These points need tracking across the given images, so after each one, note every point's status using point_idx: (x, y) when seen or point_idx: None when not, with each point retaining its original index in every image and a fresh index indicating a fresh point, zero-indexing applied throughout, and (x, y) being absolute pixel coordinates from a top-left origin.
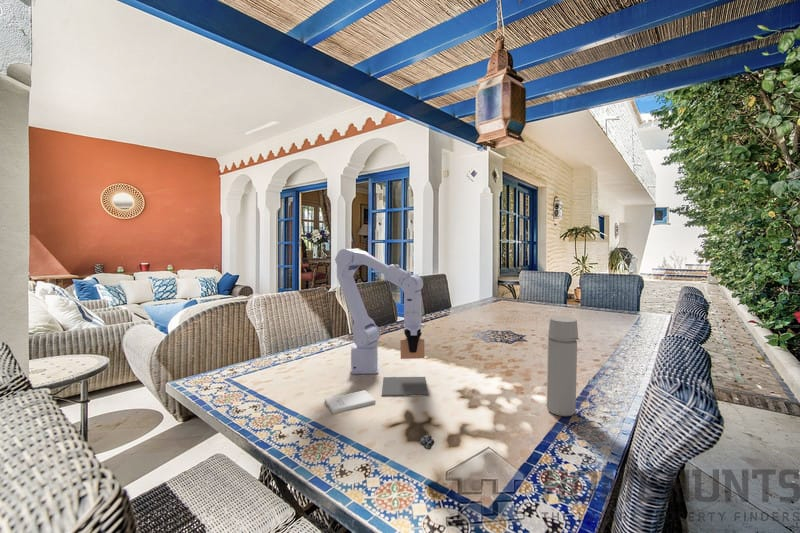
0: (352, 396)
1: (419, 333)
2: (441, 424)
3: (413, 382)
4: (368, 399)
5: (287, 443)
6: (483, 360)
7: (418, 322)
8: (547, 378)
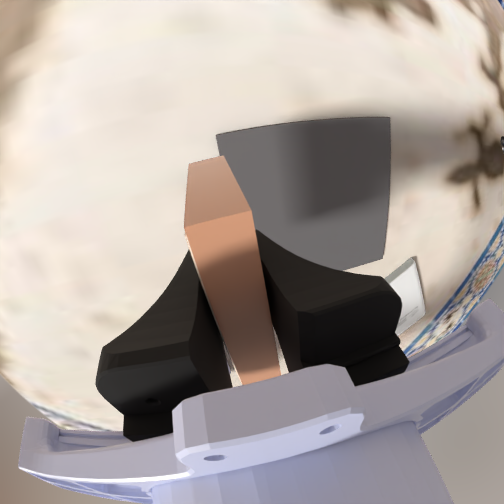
0: None
1: (395, 310)
2: (485, 110)
3: (292, 178)
4: (410, 277)
5: (462, 312)
6: None
7: (434, 468)
8: None
